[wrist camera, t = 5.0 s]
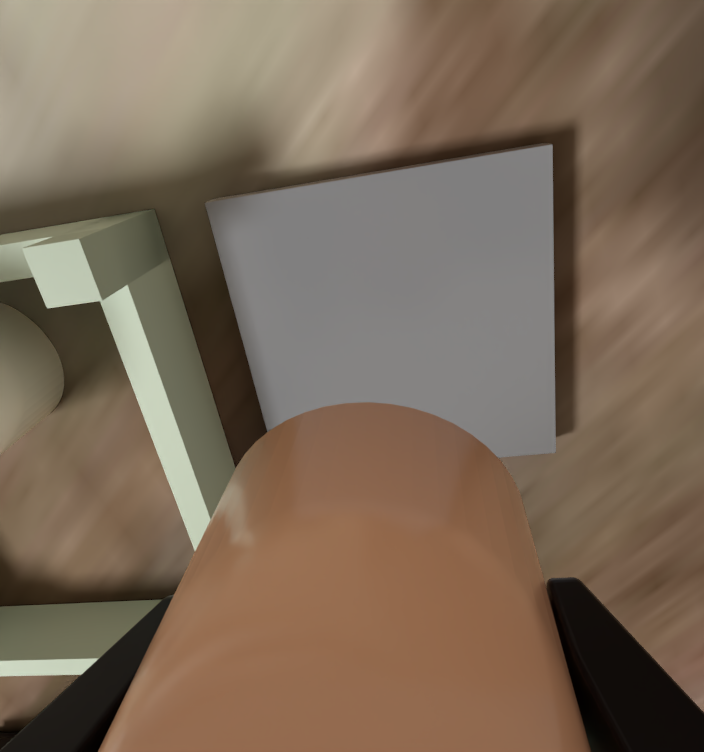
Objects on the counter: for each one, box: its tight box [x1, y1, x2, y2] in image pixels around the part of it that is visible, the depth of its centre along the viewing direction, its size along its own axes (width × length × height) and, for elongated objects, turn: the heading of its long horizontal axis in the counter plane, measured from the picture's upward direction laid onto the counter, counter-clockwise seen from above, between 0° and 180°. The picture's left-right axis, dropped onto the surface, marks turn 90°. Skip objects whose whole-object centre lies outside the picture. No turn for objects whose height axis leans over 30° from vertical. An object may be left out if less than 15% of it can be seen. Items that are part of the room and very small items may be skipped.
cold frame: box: [0, 209, 236, 676], centre depth 21 cm, size 18×16×4 cm
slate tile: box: [205, 143, 556, 457], centre depth 18 cm, size 10×10×1 cm
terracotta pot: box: [98, 402, 592, 752], centre depth 6 cm, size 6×6×7 cm
